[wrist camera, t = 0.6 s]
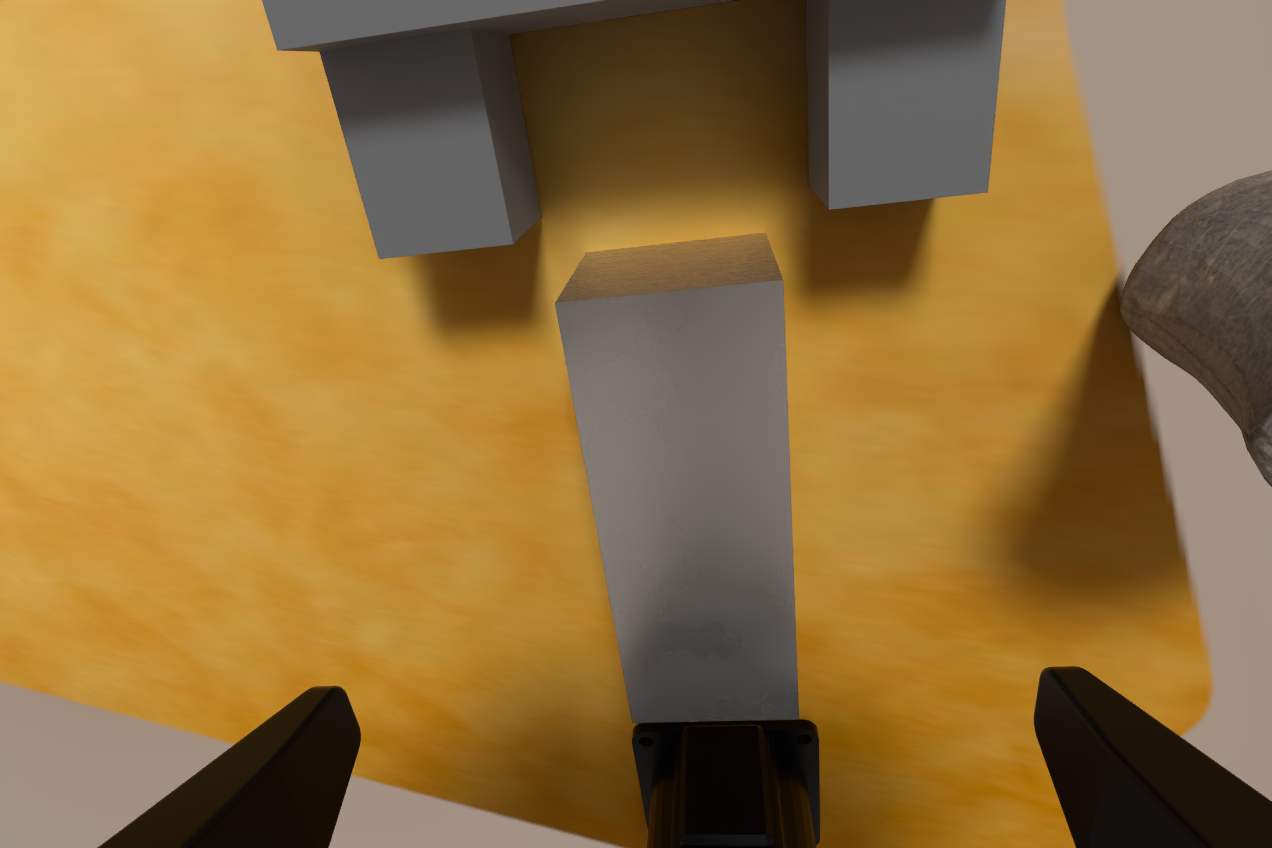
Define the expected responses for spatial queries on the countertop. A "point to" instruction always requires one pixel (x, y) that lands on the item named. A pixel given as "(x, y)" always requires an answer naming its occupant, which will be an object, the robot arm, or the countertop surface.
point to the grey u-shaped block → (514, 3)
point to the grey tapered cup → (1215, 303)
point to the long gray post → (689, 471)
